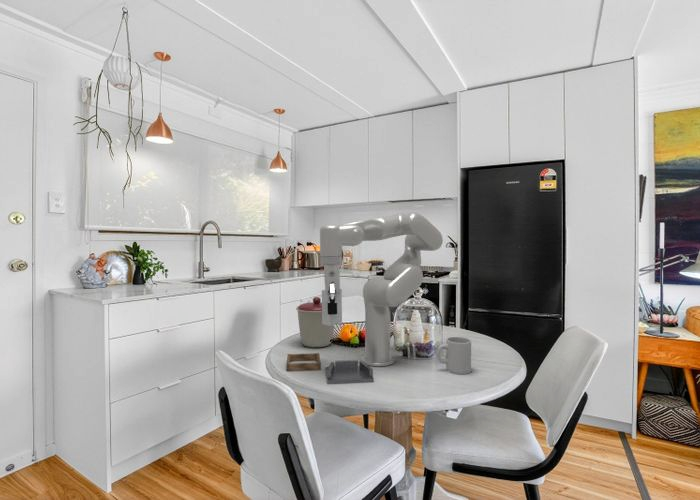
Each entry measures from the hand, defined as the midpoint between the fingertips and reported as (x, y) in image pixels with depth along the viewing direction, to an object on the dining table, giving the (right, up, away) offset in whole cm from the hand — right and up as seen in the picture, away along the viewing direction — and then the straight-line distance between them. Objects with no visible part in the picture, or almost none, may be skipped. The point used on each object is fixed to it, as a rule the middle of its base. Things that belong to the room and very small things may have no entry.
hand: (332, 311), depth 133 cm
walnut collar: (-11, -21, +8) cm, 25 cm away
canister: (-9, -21, +35) cm, 42 cm away
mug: (+43, -22, +3) cm, 48 cm away
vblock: (+6, -21, -3) cm, 22 cm away
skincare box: (0, -5, 0) cm, 5 cm away
